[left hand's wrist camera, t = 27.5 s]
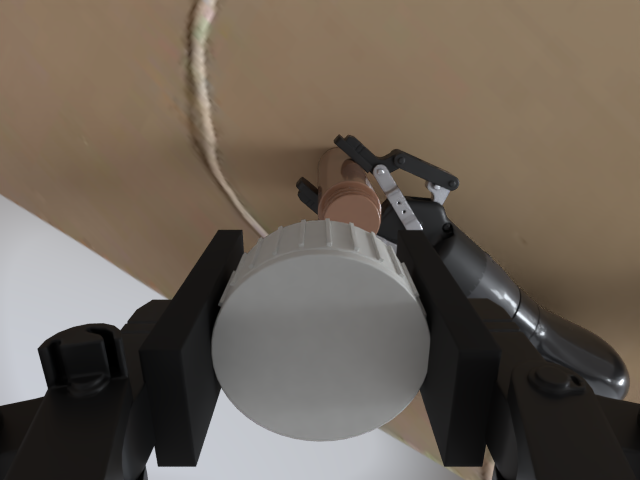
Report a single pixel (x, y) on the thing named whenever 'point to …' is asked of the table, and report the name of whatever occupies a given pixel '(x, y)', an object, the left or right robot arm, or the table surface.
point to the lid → (320, 333)
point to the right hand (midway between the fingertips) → (318, 161)
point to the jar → (346, 192)
